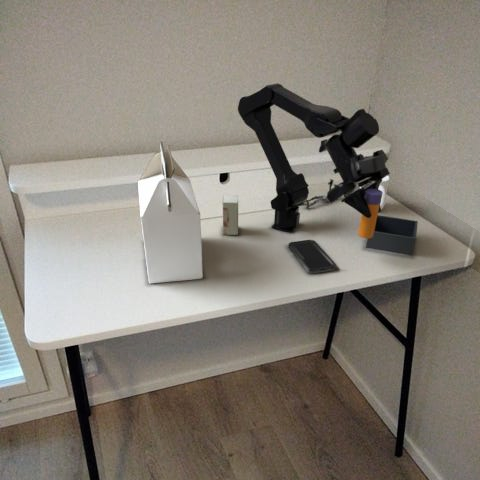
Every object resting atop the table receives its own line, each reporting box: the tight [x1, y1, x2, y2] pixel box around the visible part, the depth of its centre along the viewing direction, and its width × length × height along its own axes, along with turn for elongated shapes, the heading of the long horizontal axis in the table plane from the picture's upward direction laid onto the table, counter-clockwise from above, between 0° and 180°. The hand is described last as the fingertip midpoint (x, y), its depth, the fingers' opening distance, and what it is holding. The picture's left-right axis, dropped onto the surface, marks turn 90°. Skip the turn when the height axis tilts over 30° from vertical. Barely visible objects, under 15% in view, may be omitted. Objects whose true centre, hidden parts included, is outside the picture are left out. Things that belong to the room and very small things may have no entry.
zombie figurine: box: [303, 178, 338, 210], centre depth 151 cm, size 5×7×15 cm
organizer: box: [365, 214, 419, 257], centre depth 129 cm, size 12×11×6 cm
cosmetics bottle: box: [222, 194, 239, 236], centre depth 132 cm, size 5×4×10 cm
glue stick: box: [357, 189, 383, 239], centre depth 115 cm, size 4×4×12 cm
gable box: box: [137, 141, 204, 284], centre depth 114 cm, size 22×13×28 cm, turn 11°
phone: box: [287, 239, 337, 274], centre depth 124 cm, size 8×1×15 cm
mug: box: [360, 175, 390, 211], centre depth 145 cm, size 12×8×10 cm
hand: (374, 214), depth 114 cm, fingers closed on glue stick, 4 cm apart
